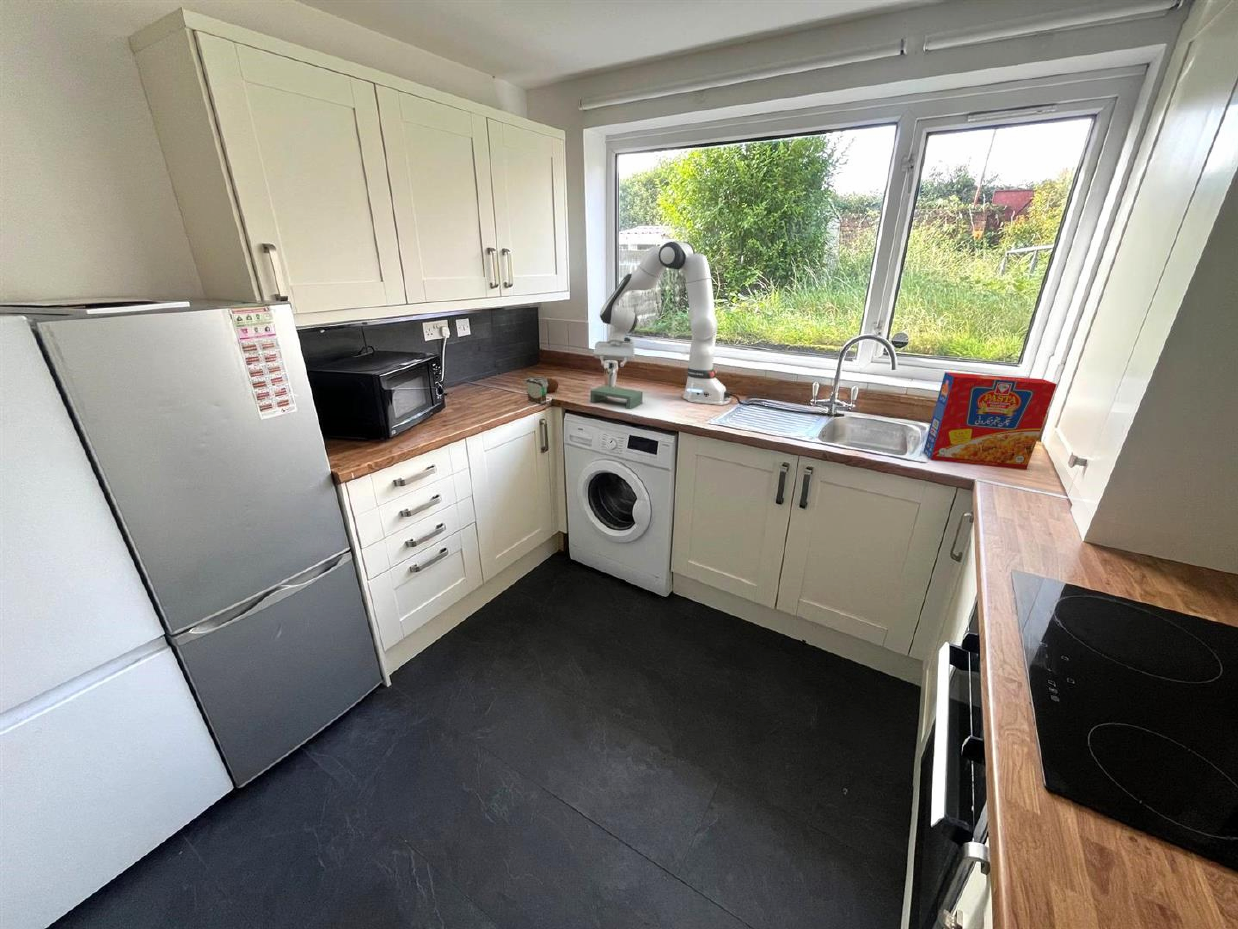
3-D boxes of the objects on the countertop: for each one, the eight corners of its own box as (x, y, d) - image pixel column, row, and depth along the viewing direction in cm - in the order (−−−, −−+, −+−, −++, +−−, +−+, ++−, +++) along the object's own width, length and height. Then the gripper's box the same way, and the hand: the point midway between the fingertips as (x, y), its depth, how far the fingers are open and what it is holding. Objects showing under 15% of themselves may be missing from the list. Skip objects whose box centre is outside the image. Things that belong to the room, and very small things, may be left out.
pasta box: (930, 459, 166) (954, 376, 156) (923, 452, 174) (944, 372, 163) (1026, 469, 160) (1057, 384, 150) (1014, 461, 168) (1042, 379, 158)
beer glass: (607, 389, 247) (608, 359, 242) (619, 391, 244) (620, 360, 239) (600, 392, 242) (600, 361, 236) (612, 394, 238) (613, 362, 233)
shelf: (642, 403, 224) (642, 391, 222) (629, 409, 214) (630, 396, 212) (603, 397, 233) (604, 385, 231) (590, 402, 223) (590, 390, 221)
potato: (562, 390, 242) (562, 377, 240) (548, 394, 233) (548, 381, 231) (552, 388, 245) (552, 375, 243) (538, 392, 236) (537, 379, 233)
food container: (554, 403, 218) (554, 381, 214) (543, 405, 214) (542, 382, 210) (537, 398, 226) (536, 376, 222) (526, 400, 222) (525, 378, 218)
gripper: (594, 337, 246) (590, 360, 241) (635, 339, 244) (632, 362, 238) (596, 345, 252) (592, 367, 247) (636, 347, 249) (633, 370, 244)
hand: (612, 365), depth 242 cm, fingers open, 8 cm apart
